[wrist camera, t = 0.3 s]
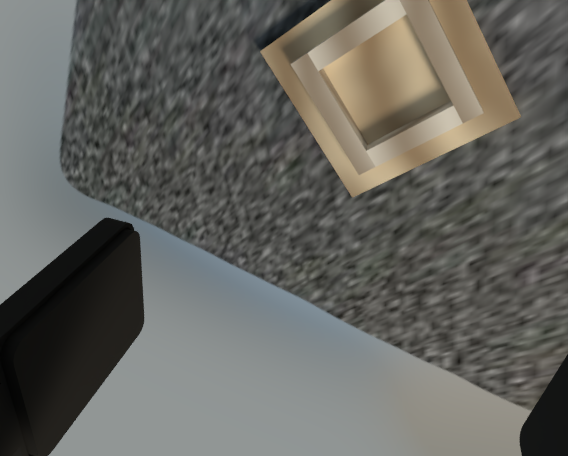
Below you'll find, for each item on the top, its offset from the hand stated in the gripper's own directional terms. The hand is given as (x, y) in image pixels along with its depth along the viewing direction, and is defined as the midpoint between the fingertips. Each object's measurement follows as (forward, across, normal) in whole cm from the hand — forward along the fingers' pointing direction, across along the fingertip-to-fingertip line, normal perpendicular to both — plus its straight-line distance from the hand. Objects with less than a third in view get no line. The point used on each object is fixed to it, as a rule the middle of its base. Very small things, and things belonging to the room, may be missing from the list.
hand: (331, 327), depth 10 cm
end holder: (+30, 0, +2) cm, 30 cm away
